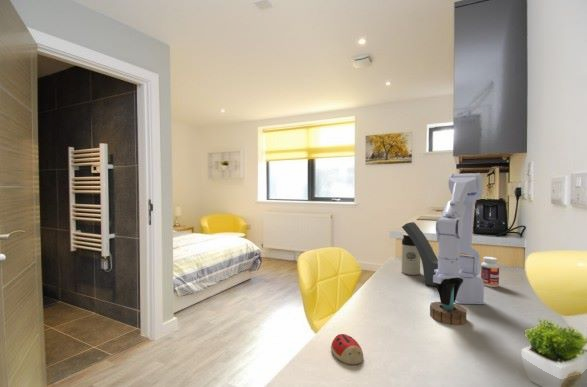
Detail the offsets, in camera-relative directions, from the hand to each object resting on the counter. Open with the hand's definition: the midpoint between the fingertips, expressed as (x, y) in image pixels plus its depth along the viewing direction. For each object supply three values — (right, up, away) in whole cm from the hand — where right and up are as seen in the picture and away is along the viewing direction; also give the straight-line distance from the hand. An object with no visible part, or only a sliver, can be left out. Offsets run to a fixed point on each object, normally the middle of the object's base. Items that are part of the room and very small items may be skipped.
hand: (448, 302), depth 91 cm
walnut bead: (0, -4, 0) cm, 4 cm away
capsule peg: (0, -3, 0) cm, 3 cm away
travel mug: (+8, -4, +49) cm, 50 cm away
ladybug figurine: (-34, -5, -21) cm, 40 cm away
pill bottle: (+33, -5, +32) cm, 46 cm away
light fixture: (+8, -4, +35) cm, 36 cm away
